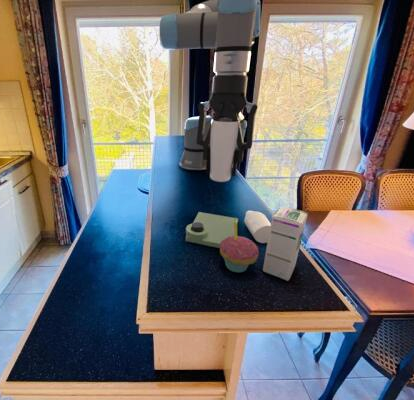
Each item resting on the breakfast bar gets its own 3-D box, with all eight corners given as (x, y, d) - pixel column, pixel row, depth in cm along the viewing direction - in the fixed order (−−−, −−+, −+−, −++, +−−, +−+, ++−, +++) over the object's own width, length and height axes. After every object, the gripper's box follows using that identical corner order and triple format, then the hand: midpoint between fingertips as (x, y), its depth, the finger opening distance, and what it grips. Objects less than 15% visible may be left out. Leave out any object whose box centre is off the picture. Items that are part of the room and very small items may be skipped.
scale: (197, 215, 84) (197, 207, 82) (237, 222, 79) (238, 213, 78) (183, 241, 71) (183, 232, 69) (230, 251, 66) (232, 241, 65)
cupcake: (210, 265, 62) (214, 221, 56) (230, 250, 67) (236, 208, 62) (243, 284, 56) (252, 236, 51) (262, 265, 61) (271, 221, 56)
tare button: (193, 226, 73) (193, 221, 72) (203, 228, 72) (204, 223, 71) (190, 231, 70) (190, 226, 69) (201, 233, 69) (201, 228, 68)
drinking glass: (205, 182, 67) (210, 121, 60) (207, 173, 73) (212, 117, 66) (233, 184, 65) (241, 122, 59) (233, 175, 71) (240, 118, 65)
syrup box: (288, 282, 57) (304, 223, 50) (260, 271, 60) (272, 215, 54) (294, 267, 61) (309, 212, 54) (268, 258, 64) (279, 204, 58)
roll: (258, 220, 81) (260, 203, 78) (274, 243, 70) (278, 224, 67) (238, 220, 80) (240, 204, 78) (252, 243, 70) (255, 225, 67)
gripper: (184, 74, 58) (181, 173, 68) (276, 74, 52) (258, 182, 62) (193, 74, 65) (189, 165, 75) (276, 74, 59) (259, 172, 68)
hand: (220, 173), depth 68 cm, fingers closed on drinking glass, 6 cm apart
